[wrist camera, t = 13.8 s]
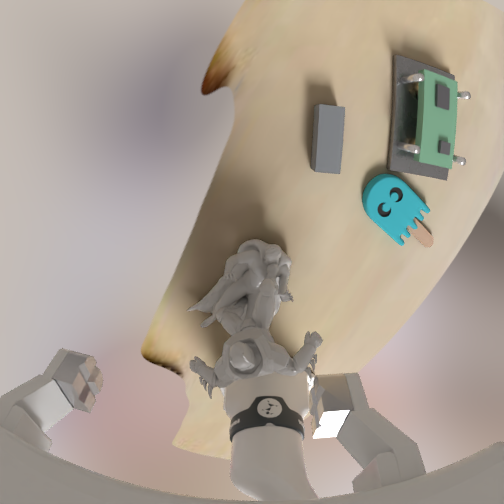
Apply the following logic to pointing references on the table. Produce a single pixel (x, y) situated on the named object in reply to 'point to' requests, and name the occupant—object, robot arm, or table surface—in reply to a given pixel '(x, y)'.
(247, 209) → the table surface
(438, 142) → the board
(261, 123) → the table surface
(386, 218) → the toy
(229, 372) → the figurine
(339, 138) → the grey rectangular block
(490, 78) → the table surface
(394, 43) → the table surface
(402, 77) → the chassis
